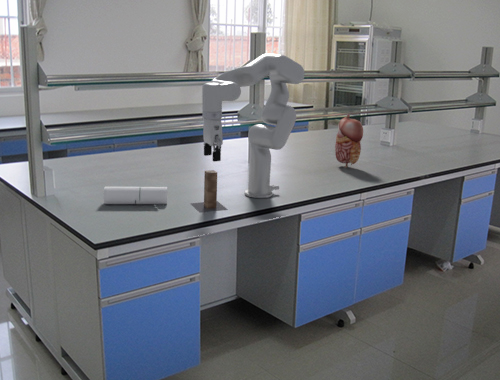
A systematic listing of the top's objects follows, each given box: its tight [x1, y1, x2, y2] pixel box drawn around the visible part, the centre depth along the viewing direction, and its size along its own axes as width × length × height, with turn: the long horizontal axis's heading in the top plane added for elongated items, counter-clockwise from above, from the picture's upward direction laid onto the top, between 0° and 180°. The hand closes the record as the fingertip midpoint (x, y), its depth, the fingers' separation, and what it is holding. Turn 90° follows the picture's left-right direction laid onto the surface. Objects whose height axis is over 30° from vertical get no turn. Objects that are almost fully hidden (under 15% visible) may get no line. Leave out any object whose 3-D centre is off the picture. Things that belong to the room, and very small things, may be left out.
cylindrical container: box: [103, 186, 168, 205], centre depth 214 cm, size 7×7×25 cm
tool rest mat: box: [189, 200, 228, 213], centre depth 214 cm, size 12×12×1 cm
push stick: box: [203, 169, 218, 209], centre depth 211 cm, size 4×4×15 cm
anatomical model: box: [334, 113, 364, 168], centre depth 288 cm, size 12×16×30 cm
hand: (212, 158), depth 208 cm, fingers open, 9 cm apart
